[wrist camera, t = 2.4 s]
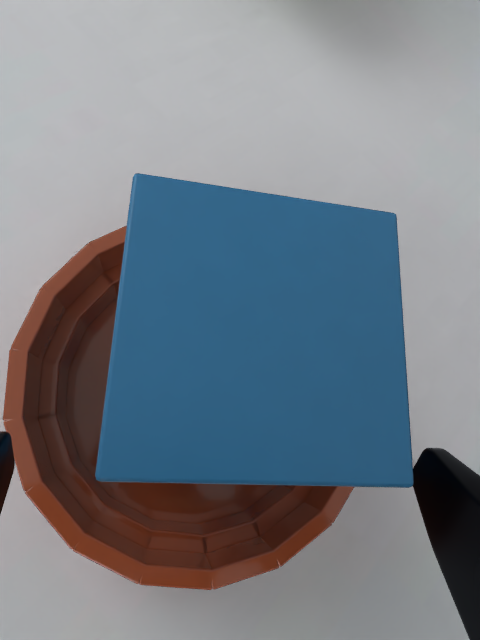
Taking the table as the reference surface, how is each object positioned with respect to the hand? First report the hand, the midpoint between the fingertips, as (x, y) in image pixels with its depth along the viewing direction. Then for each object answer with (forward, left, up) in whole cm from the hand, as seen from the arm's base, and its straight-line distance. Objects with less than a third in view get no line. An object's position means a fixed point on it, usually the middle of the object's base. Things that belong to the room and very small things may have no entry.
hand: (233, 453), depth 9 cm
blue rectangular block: (+2, -1, -9) cm, 10 cm away
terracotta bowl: (+2, -1, -9) cm, 10 cm away
